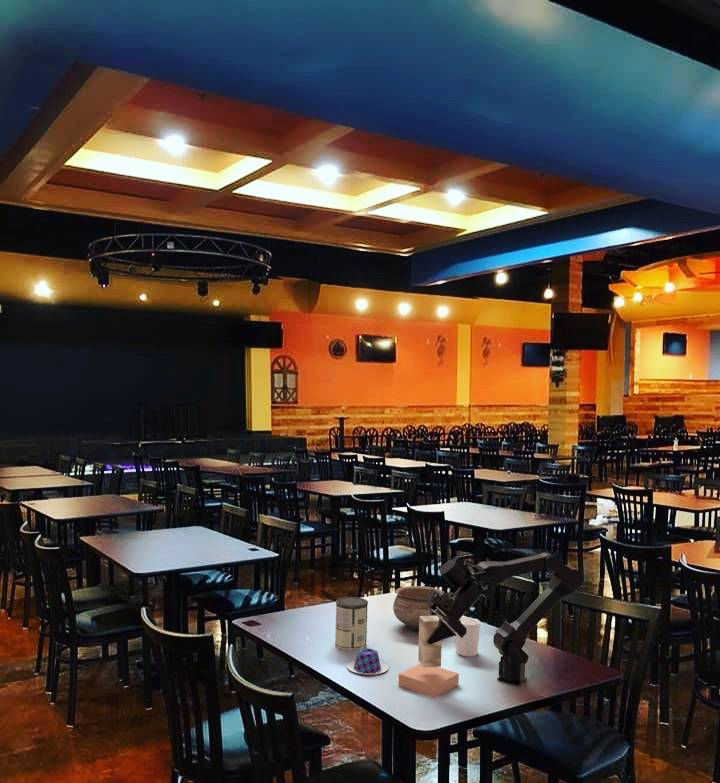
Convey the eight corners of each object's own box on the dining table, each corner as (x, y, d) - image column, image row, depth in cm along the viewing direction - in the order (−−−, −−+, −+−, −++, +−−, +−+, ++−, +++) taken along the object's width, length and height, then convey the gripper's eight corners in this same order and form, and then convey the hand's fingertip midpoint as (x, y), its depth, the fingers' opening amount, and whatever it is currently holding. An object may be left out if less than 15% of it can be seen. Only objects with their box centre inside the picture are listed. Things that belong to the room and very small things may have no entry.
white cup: (478, 658, 217) (479, 625, 217) (453, 655, 218) (454, 623, 218) (479, 650, 224) (480, 618, 225) (454, 647, 226) (455, 616, 226)
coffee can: (343, 638, 232) (344, 595, 232) (371, 643, 227) (373, 599, 228) (328, 647, 222) (330, 602, 223) (358, 653, 218) (359, 607, 218)
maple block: (435, 660, 198) (436, 615, 198) (440, 666, 193) (442, 620, 193) (418, 660, 197) (419, 616, 197) (423, 667, 192) (424, 621, 192)
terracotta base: (458, 684, 196) (458, 673, 196) (435, 697, 186) (435, 685, 186) (422, 672, 203) (422, 662, 203) (398, 684, 194) (398, 674, 194)
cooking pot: (416, 642, 230) (418, 604, 230) (375, 628, 243) (376, 592, 244) (462, 627, 247) (464, 592, 248) (421, 614, 261) (422, 581, 261)
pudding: (363, 658, 214) (363, 641, 214) (395, 668, 207) (396, 650, 207) (338, 669, 204) (339, 651, 204) (371, 680, 197) (372, 661, 197)
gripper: (434, 571, 205) (397, 610, 203) (456, 587, 187) (415, 630, 184) (459, 597, 207) (422, 636, 204) (483, 616, 188) (443, 659, 186)
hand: (425, 640), depth 195 cm, fingers closed on maple block, 5 cm apart
